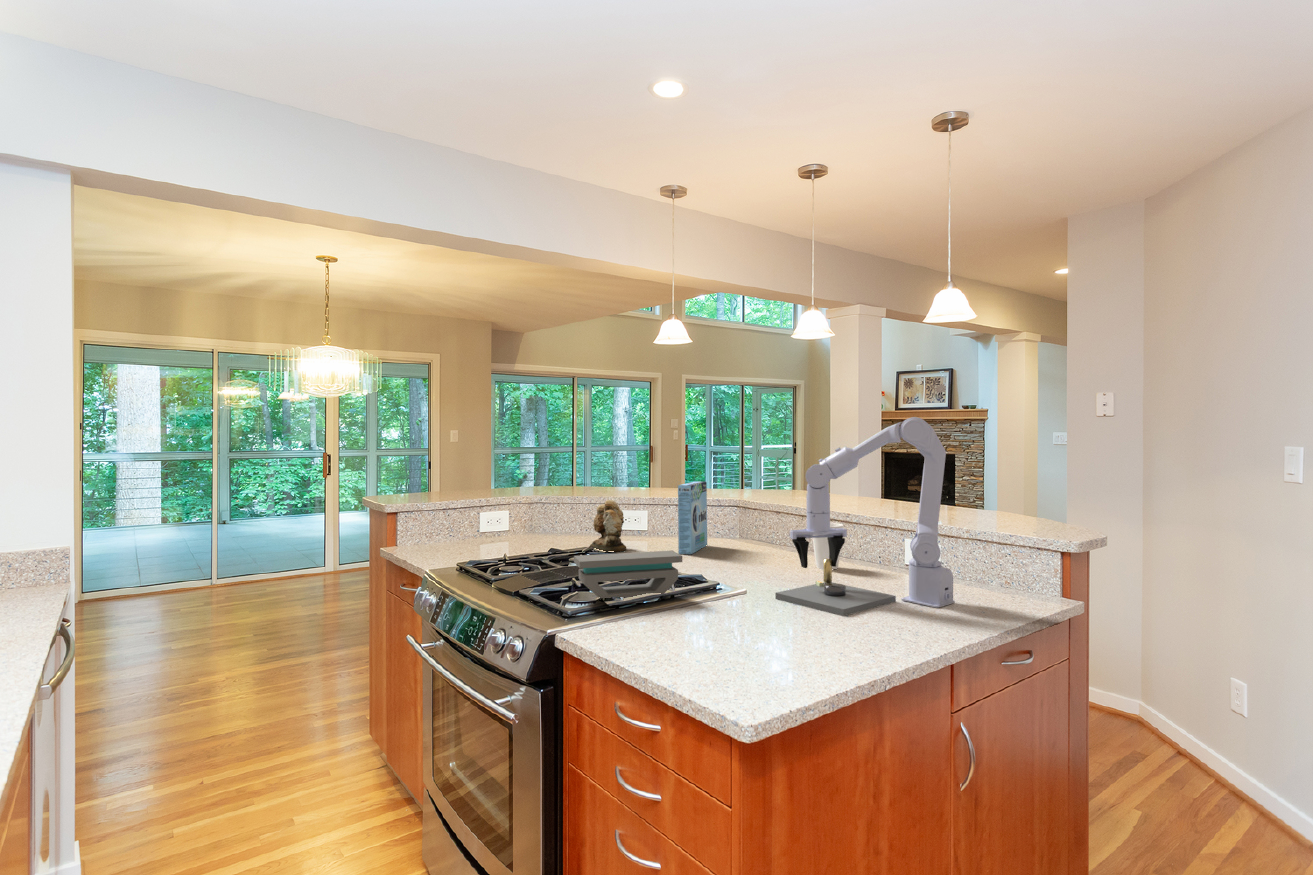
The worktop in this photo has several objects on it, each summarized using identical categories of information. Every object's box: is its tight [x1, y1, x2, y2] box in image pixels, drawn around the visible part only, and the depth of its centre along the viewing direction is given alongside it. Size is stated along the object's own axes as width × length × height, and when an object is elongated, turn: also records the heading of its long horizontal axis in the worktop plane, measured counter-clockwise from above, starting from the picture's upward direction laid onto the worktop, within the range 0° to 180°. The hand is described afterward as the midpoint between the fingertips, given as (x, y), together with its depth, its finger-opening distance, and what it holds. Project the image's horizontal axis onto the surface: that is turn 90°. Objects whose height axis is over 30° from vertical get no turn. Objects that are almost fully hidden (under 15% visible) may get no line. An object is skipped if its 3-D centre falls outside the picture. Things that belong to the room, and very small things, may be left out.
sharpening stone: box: [573, 550, 683, 599], centre depth 168 cm, size 25×8×11 cm, turn 106°
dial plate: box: [774, 580, 897, 617], centre depth 168 cm, size 20×20×2 cm
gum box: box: [677, 481, 708, 555], centre depth 239 cm, size 20×5×23 cm, turn 160°
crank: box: [823, 559, 846, 596], centre depth 170 cm, size 10×5×7 cm, turn 0°
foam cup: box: [811, 522, 844, 570], centre depth 206 cm, size 10×9×13 cm
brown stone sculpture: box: [589, 499, 627, 553], centre depth 241 cm, size 18×12×17 cm, turn 27°
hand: (818, 566), depth 174 cm, fingers open, 7 cm apart
